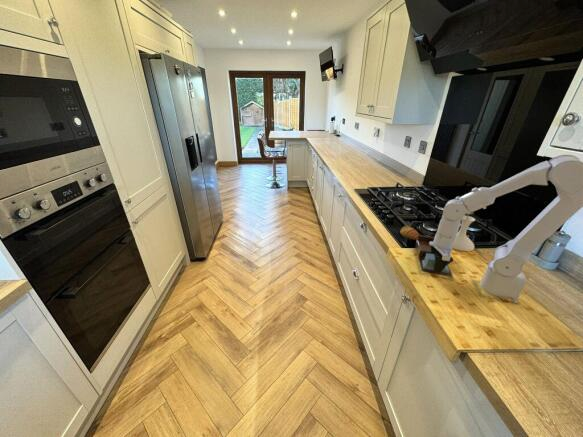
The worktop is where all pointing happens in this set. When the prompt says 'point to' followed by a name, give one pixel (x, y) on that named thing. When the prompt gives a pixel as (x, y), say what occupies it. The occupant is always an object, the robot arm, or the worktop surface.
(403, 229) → the pastry
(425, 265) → the blue-grey block
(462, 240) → the flower in vase
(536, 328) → the worktop surface
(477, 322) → the worktop surface
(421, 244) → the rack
